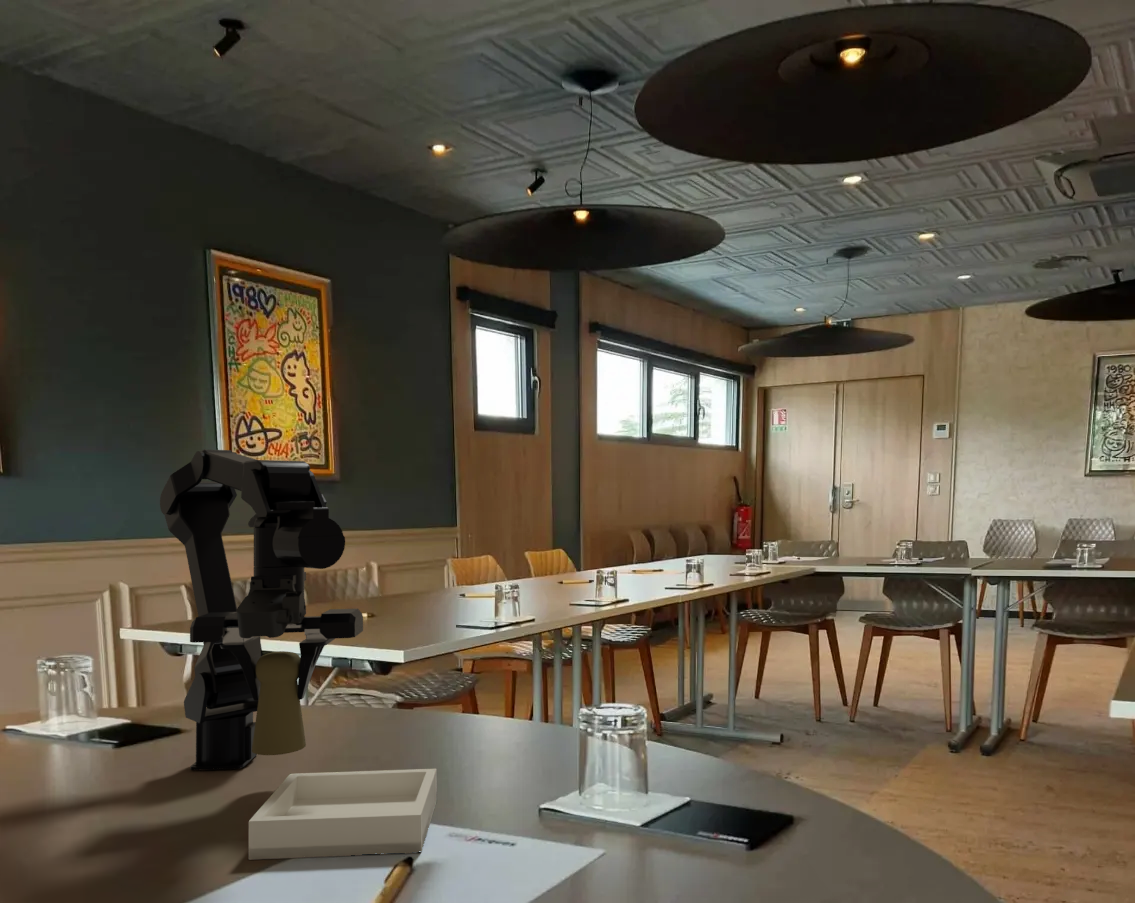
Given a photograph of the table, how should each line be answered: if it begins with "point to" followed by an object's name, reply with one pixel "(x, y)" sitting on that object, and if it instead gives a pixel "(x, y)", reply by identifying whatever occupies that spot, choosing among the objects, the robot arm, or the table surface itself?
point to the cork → (278, 705)
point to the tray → (345, 814)
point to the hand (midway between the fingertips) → (279, 699)
